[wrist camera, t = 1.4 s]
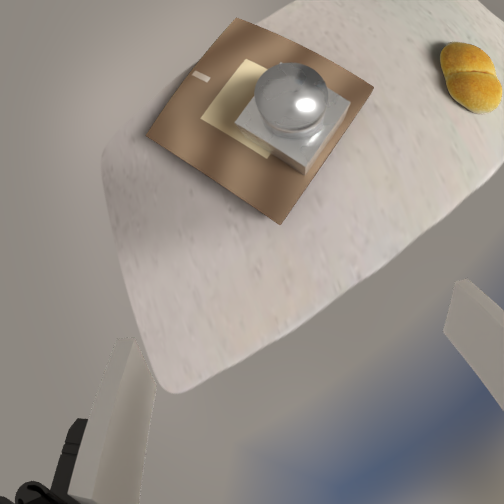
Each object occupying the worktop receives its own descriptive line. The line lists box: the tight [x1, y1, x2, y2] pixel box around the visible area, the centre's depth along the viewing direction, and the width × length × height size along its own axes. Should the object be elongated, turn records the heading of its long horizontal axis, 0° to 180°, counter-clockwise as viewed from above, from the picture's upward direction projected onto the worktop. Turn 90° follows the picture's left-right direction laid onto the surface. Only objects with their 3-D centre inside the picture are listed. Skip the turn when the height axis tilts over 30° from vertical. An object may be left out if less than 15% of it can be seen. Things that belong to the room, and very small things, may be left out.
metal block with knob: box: [235, 62, 351, 176], centre depth 22 cm, size 6×6×8 cm
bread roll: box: [440, 42, 502, 114], centre depth 23 cm, size 8×9×4 cm
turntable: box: [146, 18, 374, 225], centre depth 27 cm, size 16×16×2 cm
